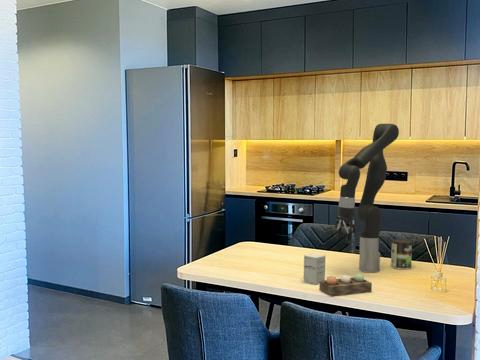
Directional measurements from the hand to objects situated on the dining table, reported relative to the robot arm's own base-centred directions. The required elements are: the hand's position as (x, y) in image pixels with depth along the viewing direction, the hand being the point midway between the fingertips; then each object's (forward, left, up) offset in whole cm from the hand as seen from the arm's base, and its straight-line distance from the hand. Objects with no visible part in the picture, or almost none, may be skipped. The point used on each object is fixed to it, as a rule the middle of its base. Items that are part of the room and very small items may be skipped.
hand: (343, 239), depth 232 cm
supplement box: (+18, +5, -18) cm, 26 cm away
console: (+12, +22, -18) cm, 31 cm away
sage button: (+5, +22, -15) cm, 27 cm away
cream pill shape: (+12, +22, -15) cm, 29 cm away
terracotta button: (+19, +22, -15) cm, 33 cm away
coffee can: (-38, -4, -18) cm, 42 cm away
